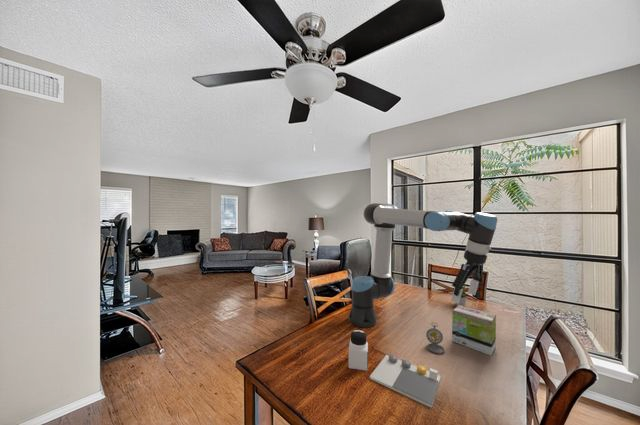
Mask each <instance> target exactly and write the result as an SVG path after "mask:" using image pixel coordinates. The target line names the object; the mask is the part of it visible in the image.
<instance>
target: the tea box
mask: <svg viewBox="0 0 640 425" xmlns="http://www.w3.org/2000/svg"><path fill="white" fill-rule="evenodd" d="M451 316H452V321H451V322H452V326H451V327H452V328H451V339H452V342H453V343H456V344H459V345H462V346H464V347H467V348H470V349H472V350H475V351H477V352H480V353H483V354H484V355H485V354H486V355H487V356H490V357H492V355H493V352H494V350H495V349H496V339H497V336H496V335H497V334H496V333H497V328H496V326H497V315H496V314H495V313H490V312H487V311H484V310H483V311H482V310H479V309H475V308H472V307H468V306H466V305H465V306H461V305H458V306H456V307H455V308H454V309H453V310H452V315H451Z"/></svg>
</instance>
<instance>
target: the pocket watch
mask: <svg viewBox="0 0 640 425" xmlns="http://www.w3.org/2000/svg"><path fill="white" fill-rule="evenodd" d="M433 324H434V325H433ZM435 324H436V325H435ZM430 325H431V326H432V328H429V329H427V331H426V334H425V335H426V339H427V340H428V342H429V343H428V344H427V346H426V347H427V349H428V350H429V352H432V353H434V354H440V355H441V354H443V353H445V348H444V347H443V346H442V345H440V344H441V343H442V341H444V340H443V339H444V336H443V333H442V332H441V330H440V329H437V327H438V326H439V325H438V324H437V323H436V322H432V323H431V324H430Z"/></svg>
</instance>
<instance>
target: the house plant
mask: <svg viewBox="0 0 640 425" xmlns="http://www.w3.org/2000/svg"><path fill="white" fill-rule="evenodd" d="M451 281H452V282H453V283H454V281H455V280H454V279H451ZM452 282H448V284H452ZM467 285H468V284H467V283H465V284H464V286H463V287H462V289H463V291H462V294H461V298H460V301H459V304H457V303H456V302H454V303H455V306H456V307H457V306H458V305H461V306H465V307H466V303H467V296H466V295H467V293H469V292H468V290H465V289H469V286H470V285H468V286H467ZM454 288H455V287H453V288H452V289H451V288H450V292H454Z"/></svg>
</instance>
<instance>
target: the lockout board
mask: <svg viewBox="0 0 640 425" xmlns="http://www.w3.org/2000/svg"><path fill="white" fill-rule="evenodd" d="M441 379H442V375H440V374H439V370H437V369H434V368H429V370H427V368H426V366H425V365H424V366H423V365H415V364H411V361H410V360H407V359H402V360H401V359H398V356H396V355H394V354H389V355H388V354H385V356H384V357H383V358H382V359H381V361H380V363H379V364H378V365H377V366H376V367H375V369H374V370H373V372H372V373H371V374H370V375H369V380H372V381H374V382H375V383H377V384H380V385H382V386H384V387H385V388H389V389H391V390H393V391H395V392H397V393H399V394H401V395H403V396H405V397H408V398H410V399H412V400H414V401H416V402H418V403H420V404H422V405H424V406H426V407H428V408H431V409H432V408H433V405H434V402H435V399H436V396H437V392H438V389H439V385H440V383H441Z"/></svg>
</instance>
